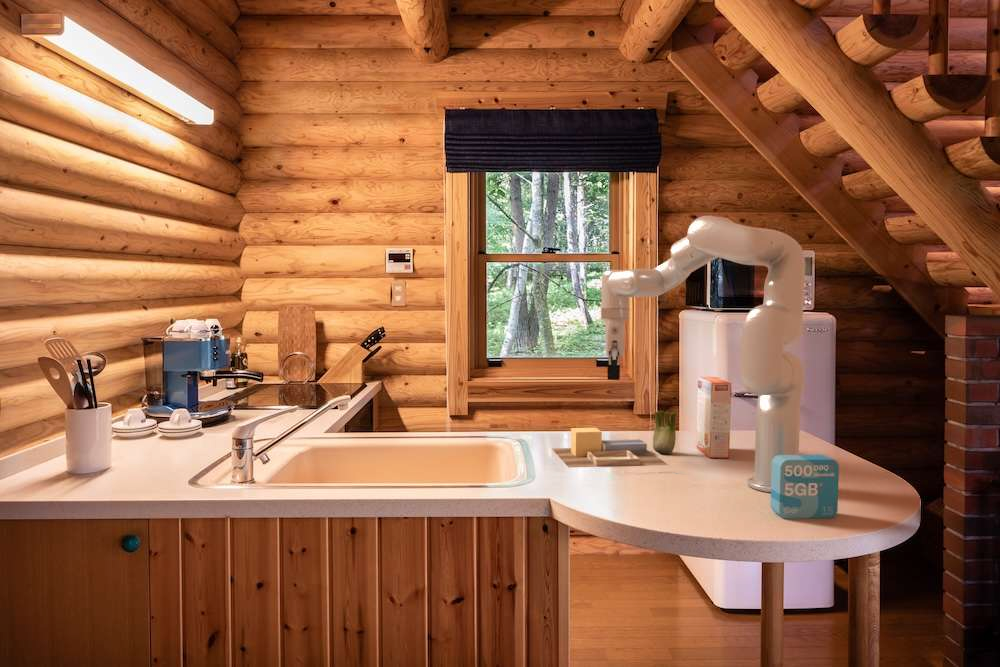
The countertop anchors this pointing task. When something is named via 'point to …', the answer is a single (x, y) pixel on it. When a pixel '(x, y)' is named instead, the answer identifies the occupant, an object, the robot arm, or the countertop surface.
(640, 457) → the board
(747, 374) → the robot arm
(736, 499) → the countertop surface
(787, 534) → the countertop surface
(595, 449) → the block
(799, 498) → the data package
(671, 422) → the fennel bulb
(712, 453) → the cracker box
